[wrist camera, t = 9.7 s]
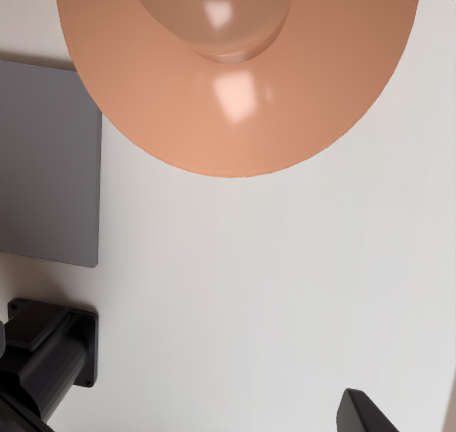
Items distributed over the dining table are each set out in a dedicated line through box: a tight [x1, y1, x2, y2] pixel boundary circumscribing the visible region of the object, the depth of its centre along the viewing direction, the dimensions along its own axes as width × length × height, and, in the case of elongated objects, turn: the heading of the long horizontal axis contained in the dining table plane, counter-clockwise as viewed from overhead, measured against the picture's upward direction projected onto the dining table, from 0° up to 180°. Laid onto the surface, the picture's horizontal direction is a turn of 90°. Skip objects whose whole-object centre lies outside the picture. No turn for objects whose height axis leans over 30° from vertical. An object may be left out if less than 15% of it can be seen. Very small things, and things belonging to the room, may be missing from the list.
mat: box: [0, 60, 102, 268], centre depth 21 cm, size 12×12×1 cm
